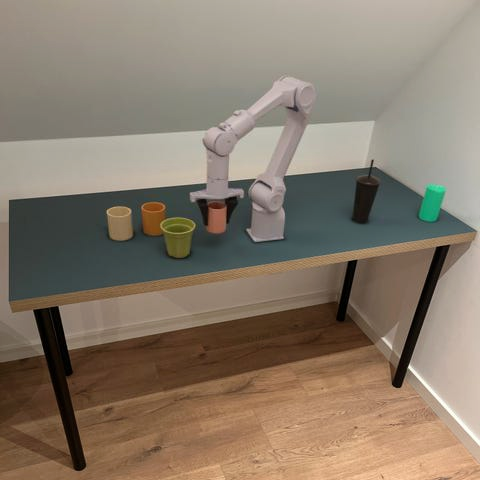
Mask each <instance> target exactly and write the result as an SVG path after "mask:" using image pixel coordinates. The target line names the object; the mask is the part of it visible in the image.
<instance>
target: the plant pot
mask: <svg viewBox="0 0 480 480" xmlns="http://www.w3.org/2000/svg"><path fill="white" fill-rule="evenodd" d="M160 227H161V229H162V230H163V236H164V240H165V245H166V251H167V254H168V256H169V257H173V258H175V259H183V258H186V257H187V256H188V255H190V252H191V245H192V238H193V234H194V230H195V229H196V223H195V221H193V220H191V219H189V218H185V217H171V218H166V220H164V221H163V222H162V223H161V225H160Z"/></svg>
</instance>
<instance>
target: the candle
mask: <svg viewBox="0 0 480 480" xmlns="http://www.w3.org/2000/svg"><path fill="white" fill-rule="evenodd" d="M446 192H447V188H446V187H445V186H442V185H439V183H437V184H427V185H426V188H425V192H424V195H423V198H422V202H421V206H420V209H419V213H418V219H420V220H422V221H424V222H436V221H437V220H438V218H439V217H438V216H439V214H440V211H441V208H442V205H443V202H444V198H445V195H446Z"/></svg>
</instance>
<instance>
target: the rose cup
mask: <svg viewBox="0 0 480 480" xmlns="http://www.w3.org/2000/svg"><path fill="white" fill-rule="evenodd" d="M207 204H208V206H209V208H208V225H207V226H205V230H206V231H207V232H208V233H210V234H222V233H225V232H226V230H227V224H226V219H227V205H226V204H225V202H223V201H217V200H214V201H209V202H207Z"/></svg>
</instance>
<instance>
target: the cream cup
mask: <svg viewBox="0 0 480 480" xmlns="http://www.w3.org/2000/svg"><path fill="white" fill-rule="evenodd" d="M132 214H133V213H132V209H131V208H129V207H126V206H113V207H110V208H108V209H107V210H106V220H107V229H108V236H109V238H110V239H112V240H114V241H117V242H120V241H127V240H130V239H132V238H133V236H134V227H133V215H132Z"/></svg>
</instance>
